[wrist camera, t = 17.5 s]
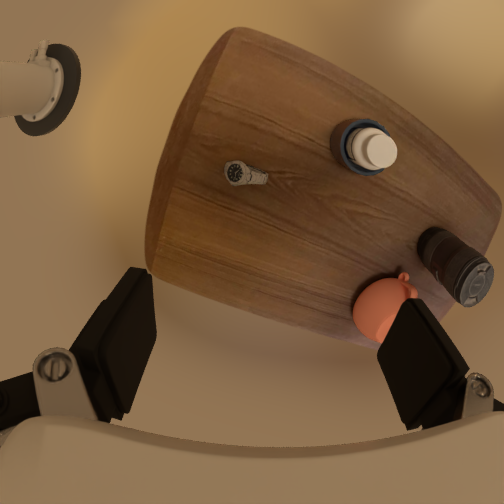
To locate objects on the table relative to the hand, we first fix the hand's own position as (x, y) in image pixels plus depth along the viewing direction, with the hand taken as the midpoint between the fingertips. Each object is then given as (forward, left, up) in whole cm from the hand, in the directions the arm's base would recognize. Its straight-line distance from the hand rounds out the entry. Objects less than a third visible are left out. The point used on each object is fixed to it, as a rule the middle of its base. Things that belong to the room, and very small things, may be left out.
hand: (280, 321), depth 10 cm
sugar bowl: (+18, +26, -33) cm, 45 cm away
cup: (-7, +13, -33) cm, 36 cm away
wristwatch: (0, -2, -33) cm, 33 cm away
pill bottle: (-7, +12, -32) cm, 35 cm away
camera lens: (+6, +33, -33) cm, 47 cm away
